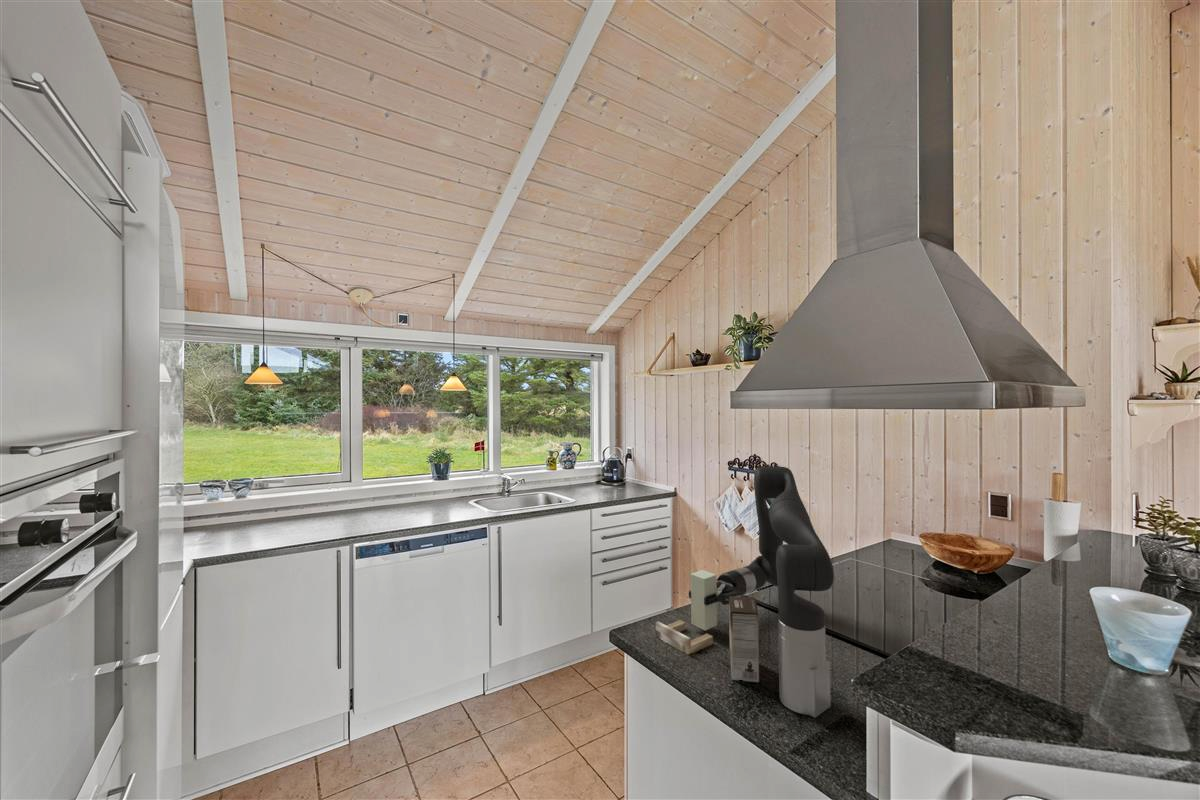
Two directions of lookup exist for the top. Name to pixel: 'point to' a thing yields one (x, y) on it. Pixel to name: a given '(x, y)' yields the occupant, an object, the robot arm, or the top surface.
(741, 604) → the coffee box
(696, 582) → the sage block
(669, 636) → the wooden lane
